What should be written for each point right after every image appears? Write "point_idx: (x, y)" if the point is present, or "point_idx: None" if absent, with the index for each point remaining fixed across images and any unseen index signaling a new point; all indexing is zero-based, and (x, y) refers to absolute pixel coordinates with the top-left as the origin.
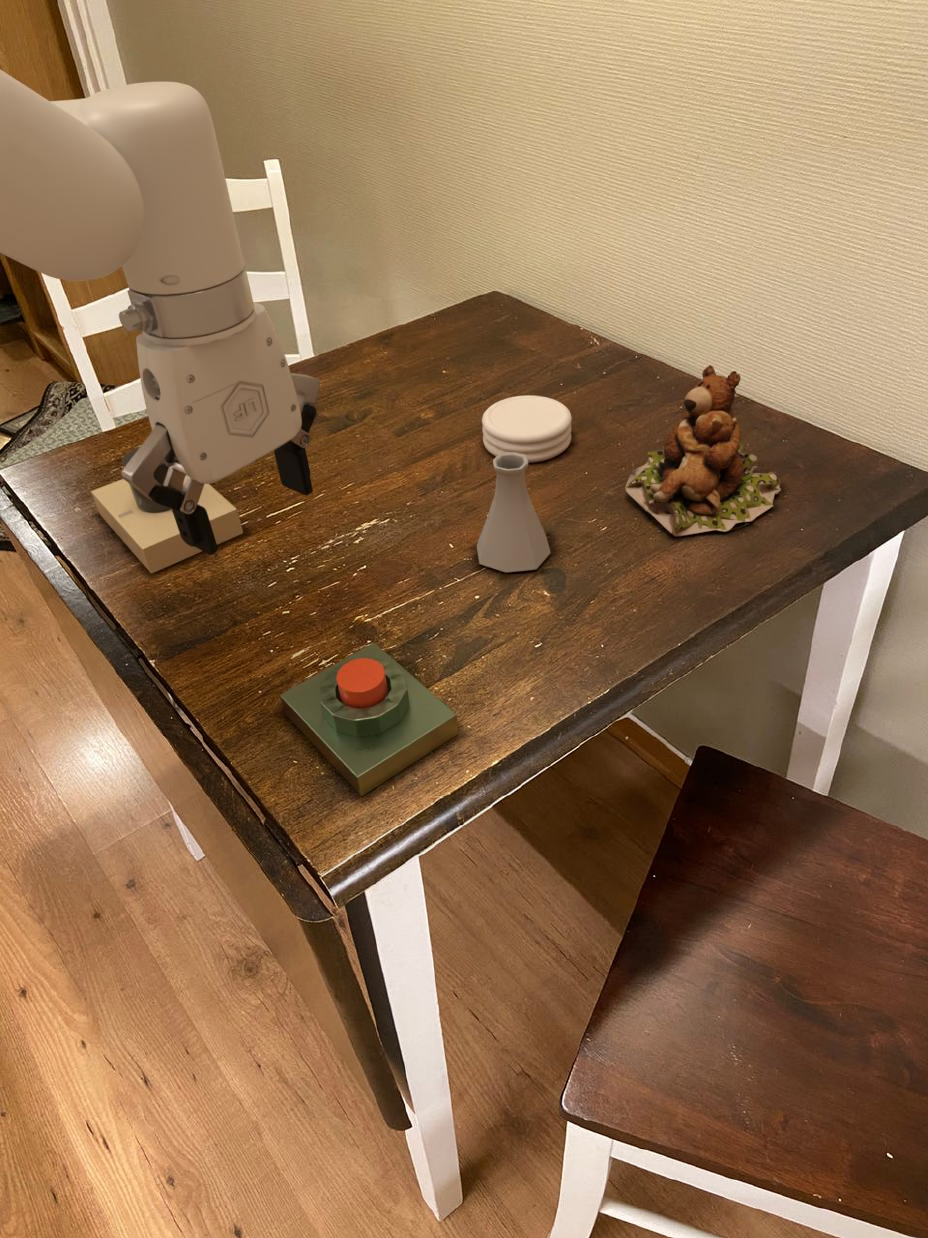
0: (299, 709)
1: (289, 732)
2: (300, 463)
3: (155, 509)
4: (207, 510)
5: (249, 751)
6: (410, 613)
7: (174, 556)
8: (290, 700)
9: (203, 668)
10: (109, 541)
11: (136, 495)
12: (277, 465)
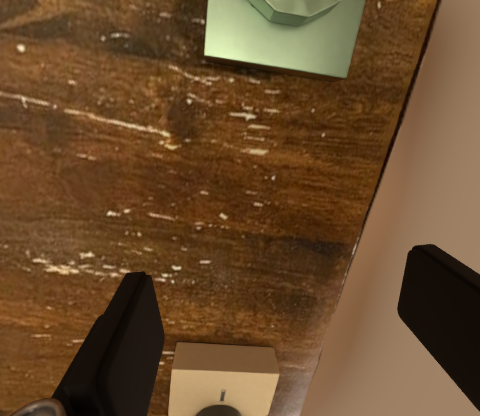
0: (352, 31)
1: None
2: (111, 347)
3: (235, 412)
4: (196, 384)
5: (392, 66)
6: (117, 99)
7: (249, 352)
8: (347, 56)
9: (332, 209)
10: None
11: None
12: (153, 386)
